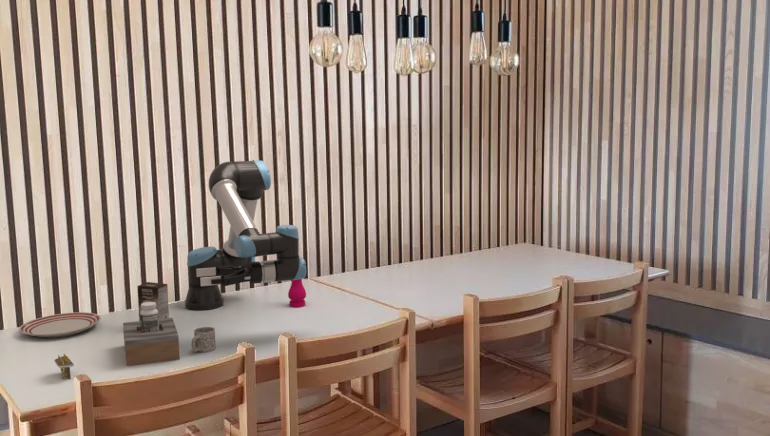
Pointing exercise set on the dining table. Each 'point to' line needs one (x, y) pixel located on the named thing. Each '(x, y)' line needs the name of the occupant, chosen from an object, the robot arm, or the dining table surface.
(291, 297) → the pepper mill
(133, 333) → the tissue box
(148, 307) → the pill bottle
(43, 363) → the dining table surface
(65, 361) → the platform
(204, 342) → the mug
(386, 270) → the dining table surface
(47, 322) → the dinner plate
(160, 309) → the coffee box
